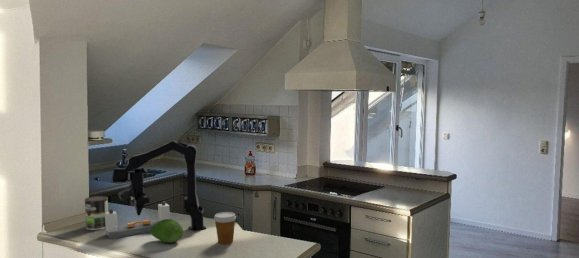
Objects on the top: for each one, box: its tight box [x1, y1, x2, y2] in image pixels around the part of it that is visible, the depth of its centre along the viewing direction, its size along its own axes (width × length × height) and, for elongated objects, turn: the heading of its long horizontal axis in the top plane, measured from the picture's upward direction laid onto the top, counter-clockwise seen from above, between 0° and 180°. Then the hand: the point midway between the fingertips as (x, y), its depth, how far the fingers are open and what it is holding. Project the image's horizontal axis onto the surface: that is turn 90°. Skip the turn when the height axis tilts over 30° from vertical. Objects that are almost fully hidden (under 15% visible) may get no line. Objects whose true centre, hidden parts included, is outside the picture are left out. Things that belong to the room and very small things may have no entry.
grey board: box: [105, 219, 160, 240], centre depth 215 cm, size 8×28×2 cm, turn 123°
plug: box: [157, 200, 171, 221], centre depth 221 cm, size 5×4×10 cm
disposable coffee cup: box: [213, 211, 237, 245], centre depth 198 cm, size 10×10×12 cm
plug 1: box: [105, 208, 119, 232], centre depth 208 cm, size 5×4×10 cm
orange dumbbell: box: [126, 219, 151, 227], centre depth 215 cm, size 3×10×2 cm, turn 122°
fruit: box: [149, 218, 184, 244], centre depth 200 cm, size 15×10×10 cm, turn 64°
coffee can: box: [84, 195, 109, 231], centre depth 222 cm, size 10×10×14 cm
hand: (138, 215), depth 215 cm, fingers closed
